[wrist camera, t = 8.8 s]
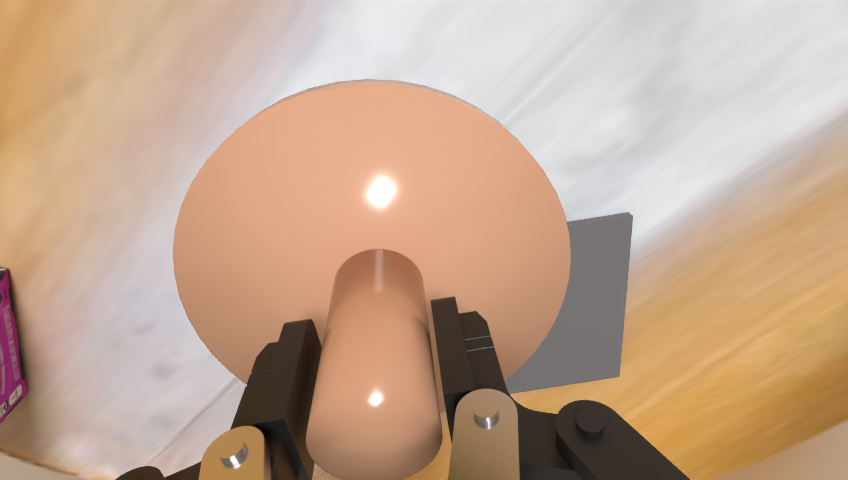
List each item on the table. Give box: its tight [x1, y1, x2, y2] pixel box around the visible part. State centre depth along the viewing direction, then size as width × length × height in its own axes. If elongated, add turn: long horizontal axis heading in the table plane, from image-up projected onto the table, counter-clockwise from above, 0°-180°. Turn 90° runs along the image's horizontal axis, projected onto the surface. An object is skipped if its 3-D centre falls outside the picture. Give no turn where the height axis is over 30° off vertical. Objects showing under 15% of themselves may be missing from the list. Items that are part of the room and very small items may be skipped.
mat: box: [504, 212, 633, 394], centre depth 33 cm, size 14×14×1 cm
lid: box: [173, 79, 571, 480], centre depth 13 cm, size 13×13×7 cm
